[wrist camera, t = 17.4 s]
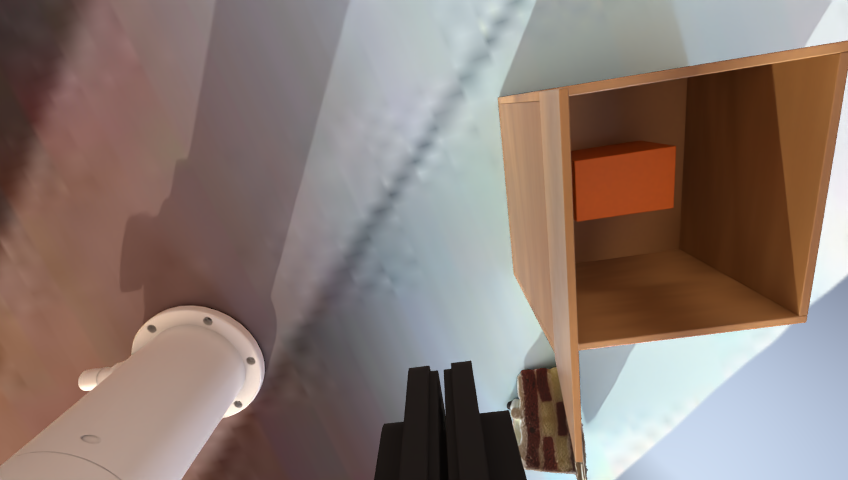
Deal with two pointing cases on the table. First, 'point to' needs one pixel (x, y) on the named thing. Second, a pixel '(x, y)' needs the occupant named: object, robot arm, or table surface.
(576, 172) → the block
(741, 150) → the carton
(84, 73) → the table surface
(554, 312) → the flap
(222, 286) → the table surface
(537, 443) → the chocolate cake
